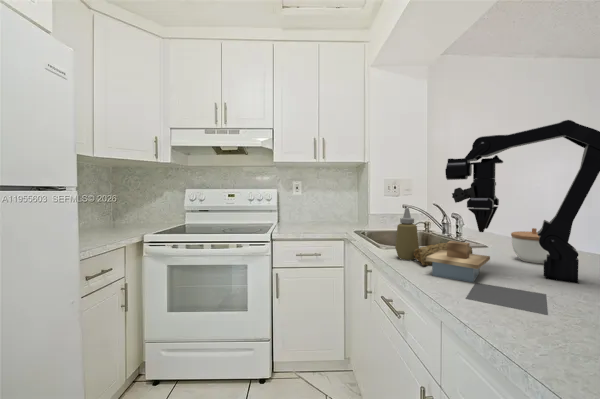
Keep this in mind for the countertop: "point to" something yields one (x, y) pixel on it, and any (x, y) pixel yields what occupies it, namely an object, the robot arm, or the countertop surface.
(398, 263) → the countertop surface
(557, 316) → the countertop surface
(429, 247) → the sponge
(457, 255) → the oak lid
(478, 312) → the countertop surface
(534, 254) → the lidded bowl
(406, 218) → the squeeze bottle
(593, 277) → the countertop surface
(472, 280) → the ceramic dish
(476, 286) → the rubber mat
